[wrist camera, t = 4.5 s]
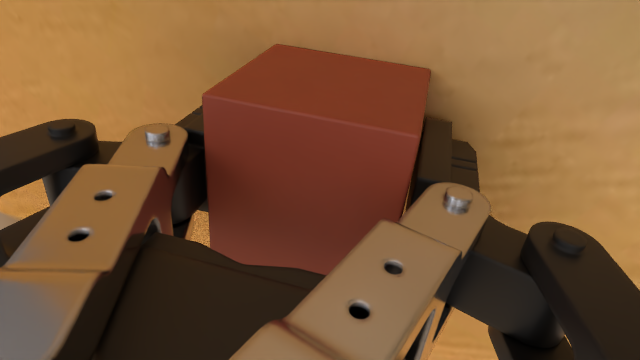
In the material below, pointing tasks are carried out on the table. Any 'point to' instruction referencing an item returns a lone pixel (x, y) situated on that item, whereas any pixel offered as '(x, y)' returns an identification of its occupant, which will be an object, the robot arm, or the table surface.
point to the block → (308, 154)
